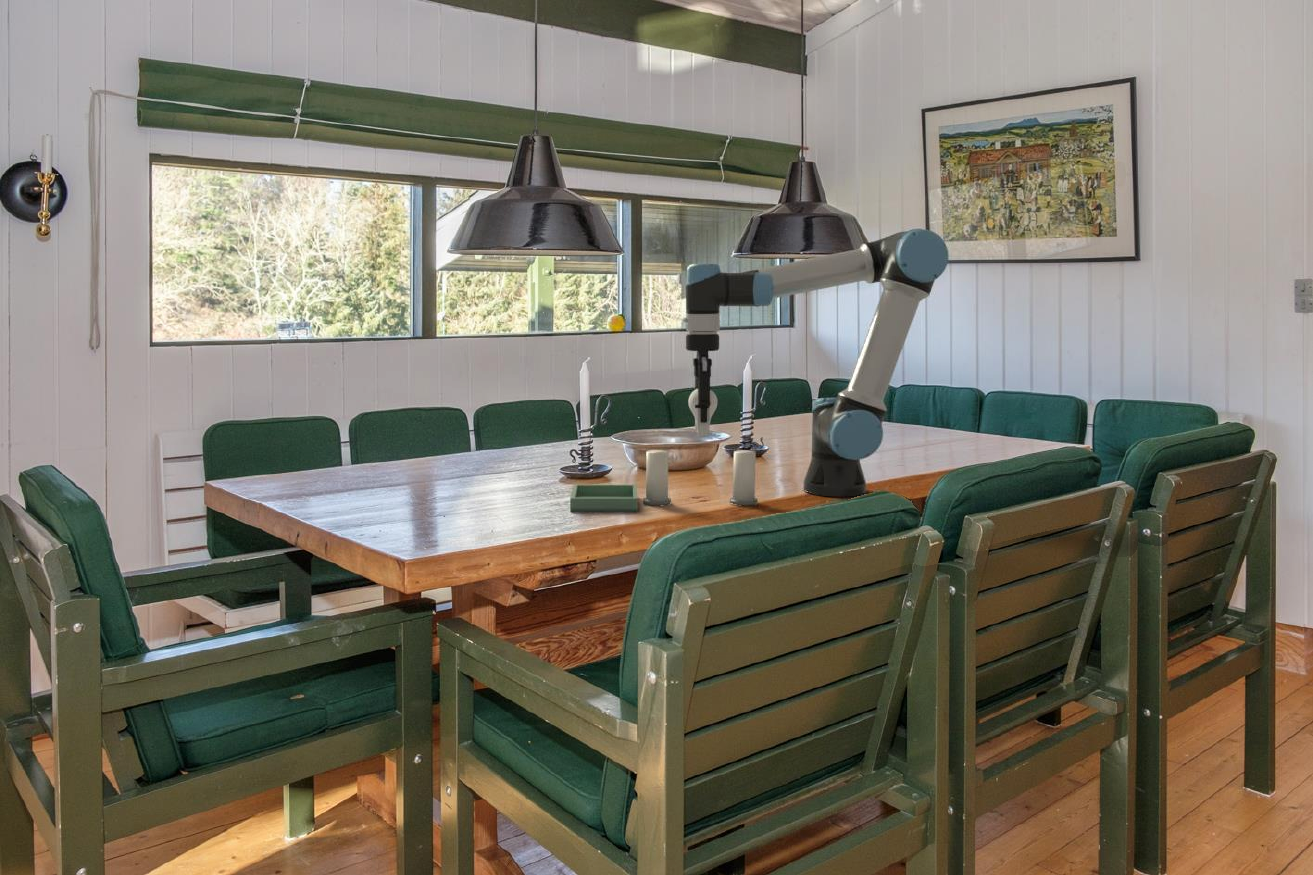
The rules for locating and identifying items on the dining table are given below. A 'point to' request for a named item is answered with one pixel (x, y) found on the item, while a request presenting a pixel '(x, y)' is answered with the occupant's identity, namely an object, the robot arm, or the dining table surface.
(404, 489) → the dining table surface
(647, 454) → the candle
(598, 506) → the tray
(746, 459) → the candle
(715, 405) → the light bulb
